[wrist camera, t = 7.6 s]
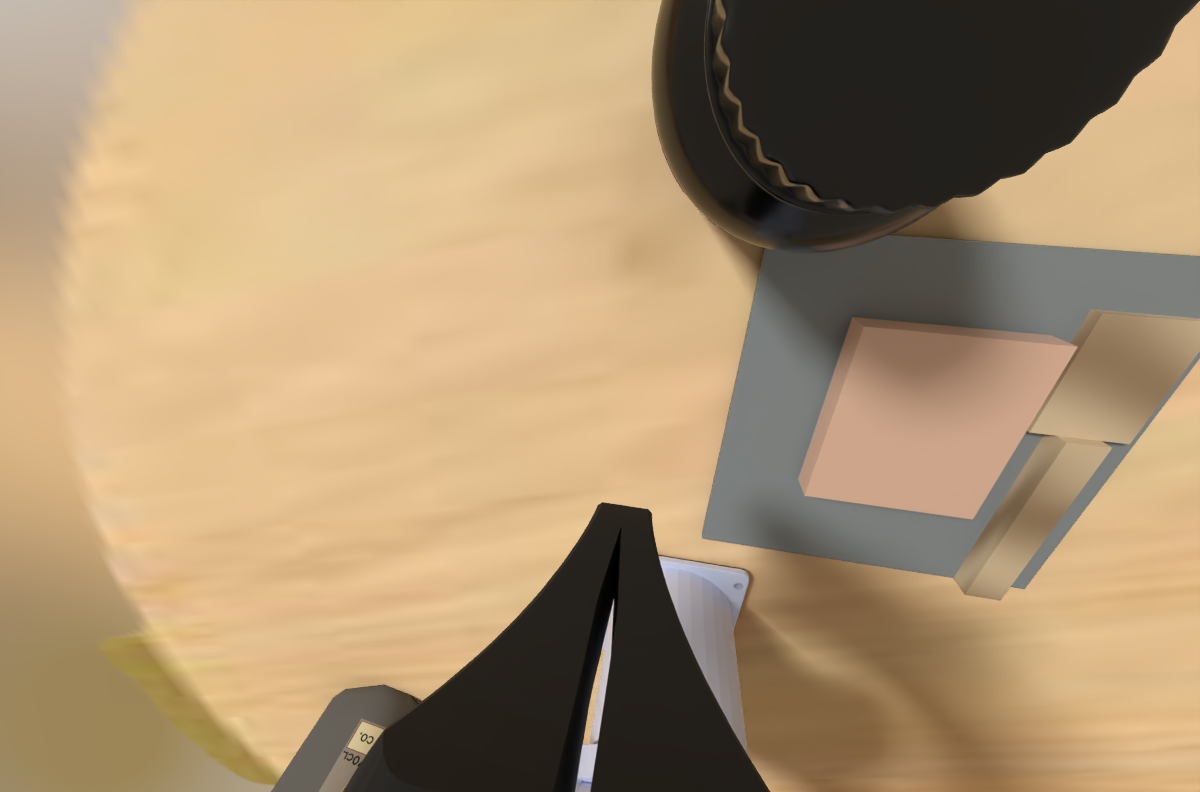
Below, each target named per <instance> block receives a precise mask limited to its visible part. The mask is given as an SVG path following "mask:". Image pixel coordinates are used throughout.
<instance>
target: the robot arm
mask: <svg viewBox="0 0 1200 792" xmlns="http://www.w3.org/2000/svg"><path fill="white" fill-rule="evenodd" d="M736 583H740V584H736ZM748 584H749V574H748V573H747V572H746V571H745V570H742V569H736V568H730V567H724V566H718V565H712V564H706V563H700V562H694V561H688V560H682V559H675V558H669V557H663V556H658V552H657V547H656V543H655V538H654V532H653V525H652V513H651V512H650V511H649V510H648V509H642V508H636V507H629V506H623V505H616V504H609V503H603V502H602V503H601V504H599V505H598V506H597V509H596V511H595V513H594V515H593V517H592V519H591V521H590V522H589V524H588V526H587V528H586V529H585V531H584V532H583V534H582V536H581V537H580V539H579V540H578V542H577V543H576V545H575V546H574V548H573V549H572V551H571V552H570V553H569V555H568V556H567V558H566V559H565V561H564V562H563V563H562V565H561V566H560V567H559V569H558V570H557V571H556V572H555V574H554V575H553V576H552V577H551V579H550V580H549V581H548V583H547V584H546V585H545V586H544V588H543V589H542V590H541V591H540V592H539V593H538V595H537V596H536V597H535V598H534V599H533V600H532V602H531V603H530V604H529V605H528V606H527V607H526V608H525V609H524V610H523V611H522V612H521V614H520V615H519V616H518V617H517V618H516V619H515V620H514V621H513V622H512V623H511V624H510V625H509V626H508V627H507V628H506V629H505V630H504V631H503V632H502V633H501V634H500V635H499V636H498V637H497V638H496V639H495V640H494V641H493V642H492V643H491V644H489V645H488V646H487V647H486V648H485V649H484V650H483V651H482V652H481V653H480V654H479V655H477V656H476V657H475V658H474V659H473V660H472V661H470V662H469V663H468V664H467V665H466V666H465V667H463V668H462V669H461V670H460V671H459V672H458V673H456V674H455V675H454V676H453V677H452V678H451V679H449V680H448V681H447V682H446V683H445V684H444V685H442V686H441V687H440V688H439V689H437V690H436V691H435V692H434V693H432V694H431V695H430V696H428V697H427V698H426V699H424V700H423V701H422V702H420V703H419V704H418V705H416V706H415V707H414V708H412V709H411V710H410V711H408V712H407V713H406V714H404V715H403V716H402V717H400V718H399V719H398V720H396V721H395V722H394V723H392V724H391V725H390V726H388V727H387V728H386V729H385V730H384V731H383V732H382V733H381V735H380V736H379V737H378V739H377V740H376V741H375V743H374V744H373V746H372V747H371V749H370V750H369V751H368V753H367V754H366V756H365V757H364V759H363V761H362V762H361V764H360V765H359V767H358V768H357V769H356V771H355V772H354V774H353V776H352V777H351V779H350V781H349V783H348V784H347V786H346V788H345V790H344V792H770V791H769V789H768V787H767V786H766V784H765V783H764V781H763V779H762V778H761V776H760V775H759V773H758V771H757V770H756V768H755V766H754V765H753V763H752V762H751V760H750V758H749V757H748V748H747V740H746V731H745V723H744V715H743V706H742V698H741V690H740V681H739V673H738V664H737V656H736V648H735V639H734V629H735V625H736V622H737V619H738V616H739V613H740V609H741V606H742V603H743V600H744V597H745V593H746V590H747V587H748ZM602 649H603V650H604V653H603V659H602V665H601V672H600V678H599V684H598V691H597V697H596V703H595V710H594V716H593V722H592V729H591V735H590V741H589V744H583V739H584V733H585V726H586V720H587V714H588V708H589V702H590V698H591V693H592V688H593V683H594V679H595V675H596V671H597V667H598V663H599V659H600V655H601V650H602Z"/></svg>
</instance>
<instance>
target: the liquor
mask: <svg viewBox="0 0 1200 792" xmlns="http://www.w3.org/2000/svg"><path fill="white" fill-rule="evenodd" d="M416 705H418V703H417V702H416V701H415V699H414V698H413V697H412V696H411V695H409V694H406V693H404V692H401V691H398V690H396V689H393V688H391V687H388V686H386V685H378V686H370V687H361V688H352V689H345V690H344V691H342V692H341V693H339V694H338V695H336V696H335V697H334V698H333V699H332V700H331V702H330V703H329V705H328V706H327V708H326V709H325V711H324V712H323V714H322V715H321V717H320V718H319V720H318V722H317V723H316V725H315V726H314V728H313V729H312V731H311V732H310V734H309V735H308V737H307V738H306V740H305V741H304V743H303V744H302V746H301V747H300V749H299V750H298V752H297V753H296V755H295V756H294V758H293V759H292V761H291V762H290V764H289V765H288V767H287V768H286V770H285V771H284V773H283V774H282V776H281V777H280V779H279V780H278V782H277V784H276V785H275V787H274V788H273V790H272V791H271V792H344V790H345V788H346V786H347V784H348V783H349V781H350V779H351V777H352V776H353V774H354V772H355V771H356V769H357V768H358V767H359V765H360V764H361V762H362V761H363V759H364V757H365V756H366V754H367V753H368V751H369V750H370V749H371V747H372V746H373V744H374V743H375V741H376V740H377V739H378V737H379V736H380V735H381V733H382V732H383V731H384V730H385V729H386V728H387V727H388V726H390V725H391V724H392V723H394V722H395V721H396V720H398V719H399V718H400V717H402V716H403V715H404V714H406V713H407V712H408V711H410V710H411V709H412V708H414V707H415V706H416Z"/></svg>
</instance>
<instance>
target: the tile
mask: <svg viewBox="0 0 1200 792" xmlns="http://www.w3.org/2000/svg"><path fill="white" fill-rule="evenodd" d="M1076 349H1077V346H1075V345H1073V344H1070V343H1068V342H1066V341H1064V340H1061V339H1059V338H1057V337H1054V336H1052V335H1043V334H1032V333H1021V332H1010V331H999V330H988V329H978V328H967V327H956V326H945V325H934V324H923V323H912V322H902V321H891V320H880V319H869V318H858V317H852V320H851V323H850V326H849V328H848V331H847V334H846V337H845V340H844V343H843V346H842V349H841V352H840V355H839V358H838V361H837V364H836V367H835V370H834V373H833V376H832V379H831V382H830V385H829V388H828V391H827V394H826V397H825V400H824V403H823V406H822V409H821V412H820V415H819V418H818V421H817V424H816V427H815V430H814V433H813V436H812V439H811V442H810V445H809V448H808V451H807V454H806V457H805V460H804V463H803V466H802V469H801V472H800V475H799V478H798V480H799V483H800V486H801V488H802V491H803V493H804V496H809V497H817V498H824V499H831V500H838V501H845V502H852V503H859V504H866V505H873V506H880V507H887V508H894V509H901V510H909V511H916V512H923V513H930V514H937V515H944V516H951V517H958V518H965V519H972V520H973V518H974V517H975V515H976V514H977V512H978V510H979V509H980V507H981V505H982V504H983V502H984V500H985V499H986V497H987V495H988V494H989V492H990V490H991V489H992V487H993V486H994V484H995V482H996V481H997V479H998V477H999V476H1000V474H1001V472H1002V471H1003V469H1004V467H1005V466H1006V464H1007V463H1008V461H1009V459H1010V458H1011V456H1012V454H1013V453H1014V451H1015V449H1016V448H1017V446H1018V444H1019V443H1020V441H1021V439H1022V438H1023V436H1024V435H1025V433H1026V431H1027V430H1028V428H1029V426H1030V425H1031V423H1032V421H1033V420H1034V418H1035V416H1036V415H1037V413H1038V411H1039V410H1040V408H1041V407H1042V405H1043V403H1044V402H1045V400H1046V398H1047V397H1048V395H1049V393H1050V392H1051V390H1052V388H1053V387H1054V385H1055V384H1056V382H1057V380H1058V379H1059V377H1060V375H1061V374H1062V372H1063V370H1064V369H1065V367H1066V365H1067V364H1068V362H1069V360H1070V359H1071V357H1072V356H1073V354H1074V352H1075V351H1076Z"/></svg>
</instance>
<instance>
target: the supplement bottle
mask: <svg viewBox="0 0 1200 792" xmlns="http://www.w3.org/2000/svg"><path fill="white" fill-rule="evenodd" d="M1199 1H1200V0H662V2H661V5H660V10H659V15H658V20H657V24H656V30H655V37H654V45H653V55H652V99H653V108H654V117H655V122H656V127H657V132H658V136H659V140H660V143H661V146H662V150H663V153H664V155H665V158H666V160H667V163H668V165H669V167H670V169H671V171H672V173H673V175H674V177H675V179H676V181H677V182H678V184H679V186H680V187H681V189H682V190H683V192H685V194H686V195H687V196H688V198H689V199H690V200H691V201H692V203H693V204H694V205H695V206H696V207H697V208H698V209H699V210H700V211H701V212H702V213H703V214H704V215H705V216H706V217H707V218H708V219H709V220H710V221H711V222H713V223H714V224H715V225H716V226H718V227H719V228H721V229H722V230H724V231H726V232H727V233H729V234H731V235H733V236H735V237H737V238H739V239H741V240H743V241H745V242H748V243H751V244H754V245H757V246H759V247H763V248H767V249H771V250H775V251H782V252H789V253H823V252H830V251H837V250H843V249H847V248H851V247H855V246H859V245H862V244H865V243H868V242H871V241H874V240H877V239H880V238H882V237H885V236H887V235H889V234H892V233H894V232H896V231H898V230H900V229H902V228H904V227H906V226H908V225H910V224H912V223H914V222H916V221H917V220H919V219H920V218H922V217H924V216H925V215H927V214H928V213H930V212H932V211H933V210H935V209H936V208H937V207H939V206H940V205H941V204H943V203H945V202H947V201H949V200H950V199H952V198H961V197H973V196H976V195H979V194H980V193H982V192H983V191H985V190H986V189H988V188H989V187H991V186H992V185H993V184H995V183H996V182H997V181H998V180H1000V179H1005V178H1009V177H1013V176H1017V175H1021V174H1024V173H1025V172H1026V171H1027V170H1028V169H1030V168H1031V167H1032V166H1033V165H1034V164H1035V163H1036V162H1037V161H1038V160H1039V159H1040V158H1041V157H1042V156H1043V155H1044V154H1046V153H1048V152H1051V151H1054V150H1056V149H1059V148H1061V147H1063V146H1065V145H1067V144H1070V143H1071V142H1072V141H1073V140H1074V139H1075V138H1076V136H1077V135H1078V134H1079V133H1080V132H1081V131H1082V129H1083V128H1084V127H1085V126H1086V124H1087V123H1088V122H1089V121H1090V119H1092V118H1094V117H1095V116H1097V115H1098V114H1100V113H1103V112H1105V111H1106V110H1108V109H1109V108H1111V107H1112V106H1114V105H1115V104H1117V103H1118V101H1119V100H1120V98H1121V97H1122V95H1123V94H1124V92H1125V91H1126V89H1127V88H1128V86H1129V85H1130V83H1131V81H1132V80H1133V78H1134V77H1135V76H1136V75H1137V74H1138V73H1139V72H1140V71H1142V70H1143V69H1145V68H1146V67H1148V66H1149V65H1150V64H1151V63H1153V62H1154V61H1155V60H1156V59H1157V58H1158V57H1160V56H1161V54H1162V52H1163V51H1164V49H1165V47H1166V45H1167V43H1168V41H1169V39H1170V37H1171V34H1172V32H1173V30H1174V28H1175V26H1176V24H1177V23H1178V22H1179V21H1180V20H1181V19H1182V18H1183V17H1184V16H1185V15H1186V14H1187V13H1189V12H1190V11H1191V9H1192V8H1193V7H1194V6H1195V5H1196V4H1197V3H1198V2H1199Z"/></svg>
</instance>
